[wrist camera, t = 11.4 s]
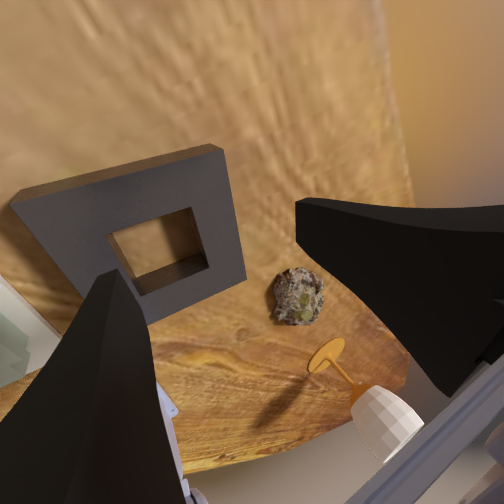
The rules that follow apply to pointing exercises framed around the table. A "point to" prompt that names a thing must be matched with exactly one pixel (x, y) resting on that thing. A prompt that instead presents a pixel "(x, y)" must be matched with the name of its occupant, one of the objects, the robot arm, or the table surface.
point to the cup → (372, 408)
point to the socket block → (137, 211)
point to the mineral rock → (298, 297)
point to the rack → (22, 336)
